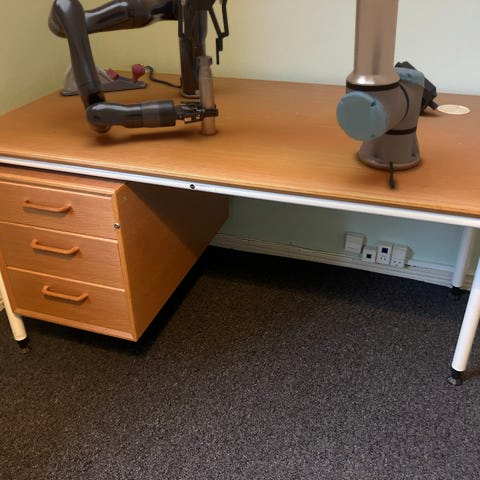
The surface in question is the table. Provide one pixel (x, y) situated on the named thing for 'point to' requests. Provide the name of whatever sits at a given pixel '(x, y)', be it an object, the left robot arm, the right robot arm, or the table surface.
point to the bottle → (207, 98)
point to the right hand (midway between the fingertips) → (205, 63)
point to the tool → (428, 90)
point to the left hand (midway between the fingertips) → (216, 109)
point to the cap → (205, 60)
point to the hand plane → (107, 80)
